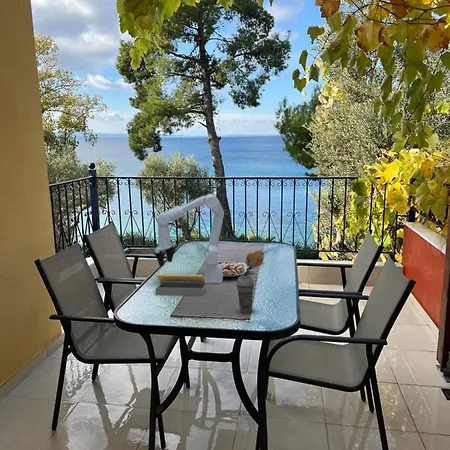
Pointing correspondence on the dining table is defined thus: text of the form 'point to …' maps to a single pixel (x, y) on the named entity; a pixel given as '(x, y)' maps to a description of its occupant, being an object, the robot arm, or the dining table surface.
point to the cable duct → (181, 288)
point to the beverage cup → (245, 292)
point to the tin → (254, 259)
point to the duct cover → (180, 278)
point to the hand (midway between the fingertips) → (165, 263)
